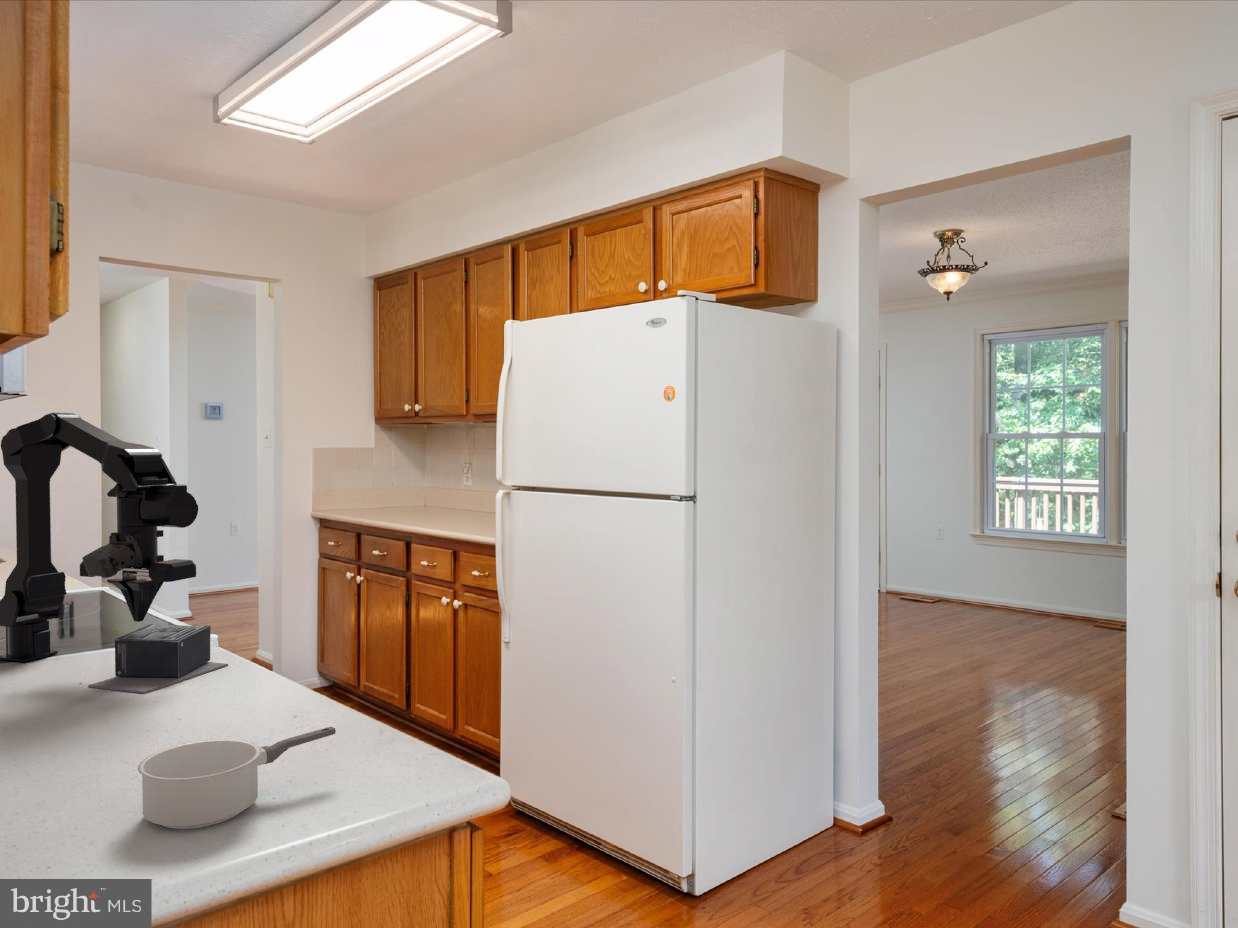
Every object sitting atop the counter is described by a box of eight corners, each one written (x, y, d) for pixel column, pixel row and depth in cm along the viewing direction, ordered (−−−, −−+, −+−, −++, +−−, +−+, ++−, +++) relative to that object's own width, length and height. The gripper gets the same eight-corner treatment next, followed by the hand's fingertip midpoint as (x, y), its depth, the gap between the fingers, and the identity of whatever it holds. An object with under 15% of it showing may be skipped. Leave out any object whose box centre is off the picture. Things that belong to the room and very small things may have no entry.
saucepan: (357, 790, 96) (356, 740, 95) (157, 848, 82) (156, 789, 82) (312, 761, 104) (312, 715, 104) (124, 810, 90) (124, 756, 90)
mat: (88, 686, 134) (88, 685, 134) (176, 660, 150) (176, 658, 150) (144, 693, 131) (144, 691, 131) (228, 665, 147) (228, 663, 147)
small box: (113, 679, 138) (179, 680, 138) (112, 638, 138) (178, 639, 137) (151, 660, 149) (212, 661, 148) (150, 622, 148) (211, 623, 148)
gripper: (47, 528, 136) (49, 627, 137) (141, 532, 131) (142, 636, 131) (109, 521, 147) (110, 613, 148) (198, 525, 141) (199, 621, 142)
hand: (138, 621), depth 142 cm, fingers closed
